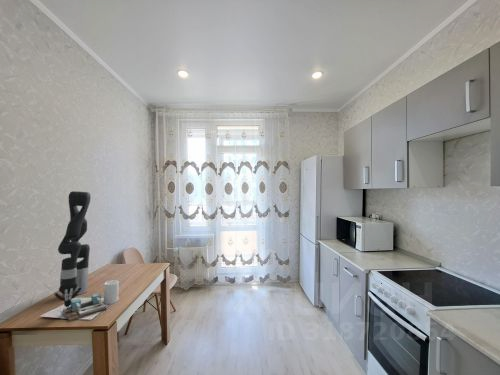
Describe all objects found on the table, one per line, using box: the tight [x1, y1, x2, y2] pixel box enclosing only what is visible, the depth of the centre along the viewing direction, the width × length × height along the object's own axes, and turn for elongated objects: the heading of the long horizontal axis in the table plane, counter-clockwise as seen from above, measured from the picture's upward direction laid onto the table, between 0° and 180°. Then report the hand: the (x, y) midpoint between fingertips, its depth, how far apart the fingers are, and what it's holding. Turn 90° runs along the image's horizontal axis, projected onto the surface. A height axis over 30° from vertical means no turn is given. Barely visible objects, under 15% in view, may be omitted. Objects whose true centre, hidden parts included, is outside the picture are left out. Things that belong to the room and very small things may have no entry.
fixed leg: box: [90, 292, 102, 305], centre depth 144 cm, size 10×4×5 cm, turn 49°
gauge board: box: [62, 300, 107, 323], centre depth 138 cm, size 16×18×3 cm
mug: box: [102, 279, 120, 305], centre depth 153 cm, size 12×8×12 cm
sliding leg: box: [70, 297, 82, 312], centre depth 136 cm, size 10×4×5 cm, turn 49°
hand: (67, 306), depth 135 cm, fingers closed
